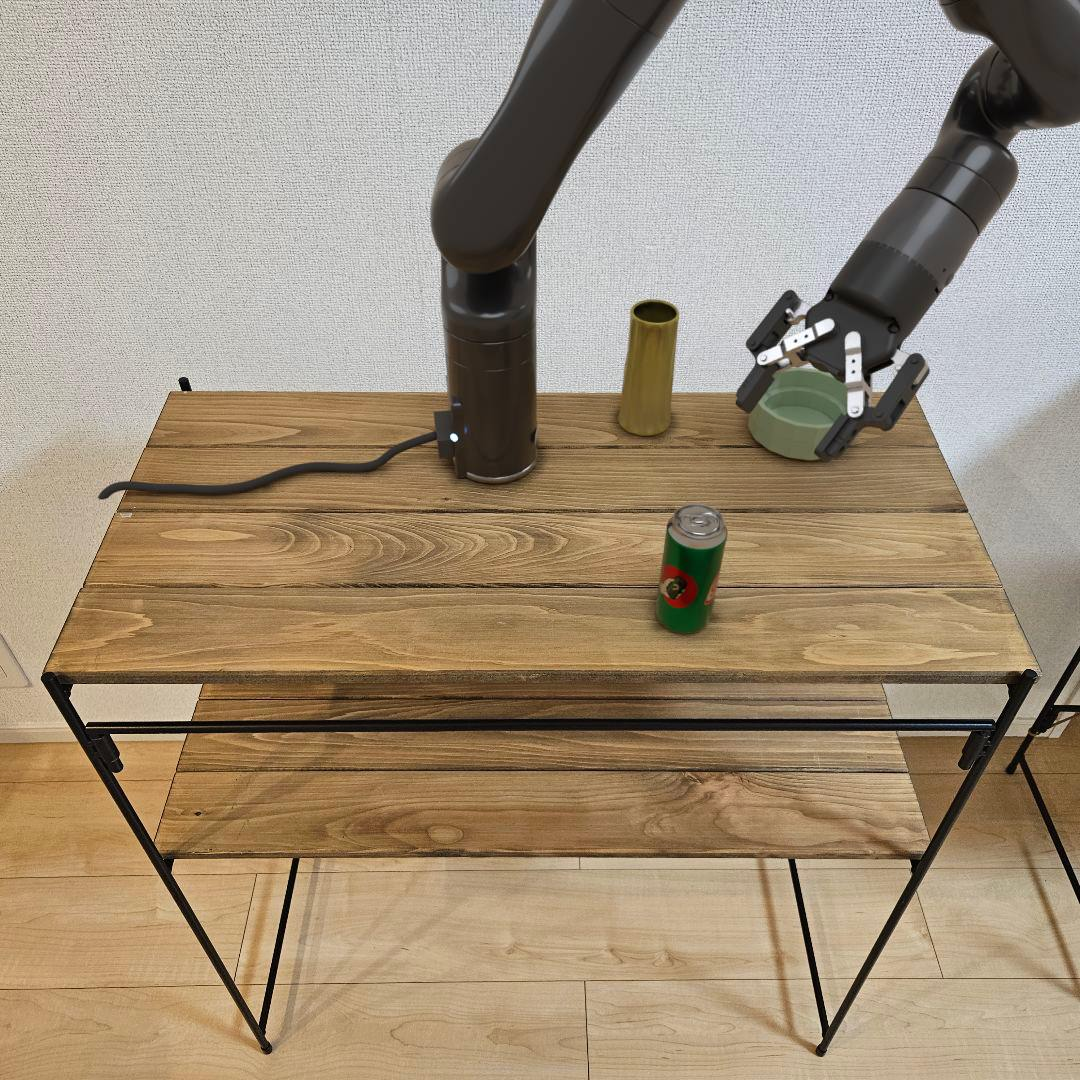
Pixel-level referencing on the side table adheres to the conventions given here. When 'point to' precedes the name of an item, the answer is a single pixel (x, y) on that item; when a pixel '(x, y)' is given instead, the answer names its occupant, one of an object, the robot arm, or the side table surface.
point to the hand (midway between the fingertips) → (779, 432)
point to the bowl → (798, 412)
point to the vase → (649, 368)
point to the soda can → (690, 567)
